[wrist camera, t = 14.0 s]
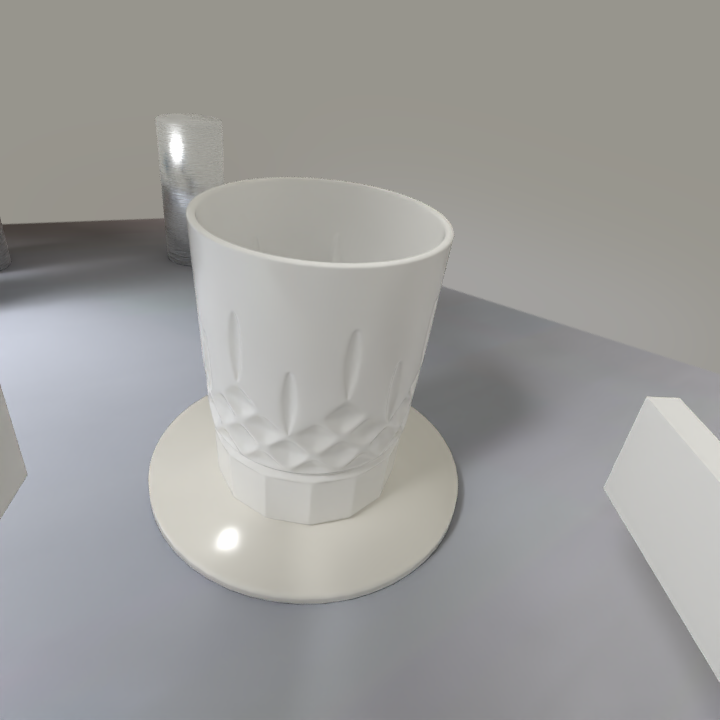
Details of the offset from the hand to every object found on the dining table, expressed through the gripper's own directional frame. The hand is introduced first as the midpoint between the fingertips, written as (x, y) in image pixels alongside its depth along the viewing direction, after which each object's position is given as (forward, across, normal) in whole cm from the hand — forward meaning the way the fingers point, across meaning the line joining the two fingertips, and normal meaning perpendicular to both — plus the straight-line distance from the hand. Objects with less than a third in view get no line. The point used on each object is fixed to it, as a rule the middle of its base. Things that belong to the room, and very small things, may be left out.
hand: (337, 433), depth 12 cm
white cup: (+7, 0, -8) cm, 11 cm away
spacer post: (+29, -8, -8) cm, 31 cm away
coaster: (+8, 0, -8) cm, 11 cm away
